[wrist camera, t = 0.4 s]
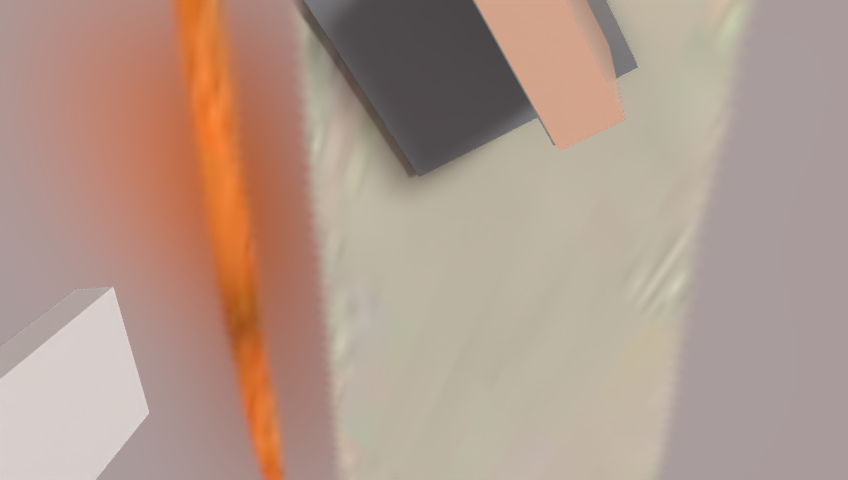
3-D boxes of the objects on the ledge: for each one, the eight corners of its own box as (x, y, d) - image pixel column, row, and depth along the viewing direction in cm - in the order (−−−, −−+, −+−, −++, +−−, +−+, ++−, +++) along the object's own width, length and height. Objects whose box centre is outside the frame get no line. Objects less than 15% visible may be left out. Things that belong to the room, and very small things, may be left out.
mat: (513, -189, 31) (513, -189, 30) (636, 63, 35) (637, 67, 35) (286, -35, 35) (282, -32, 35) (420, 171, 40) (418, 176, 39)
